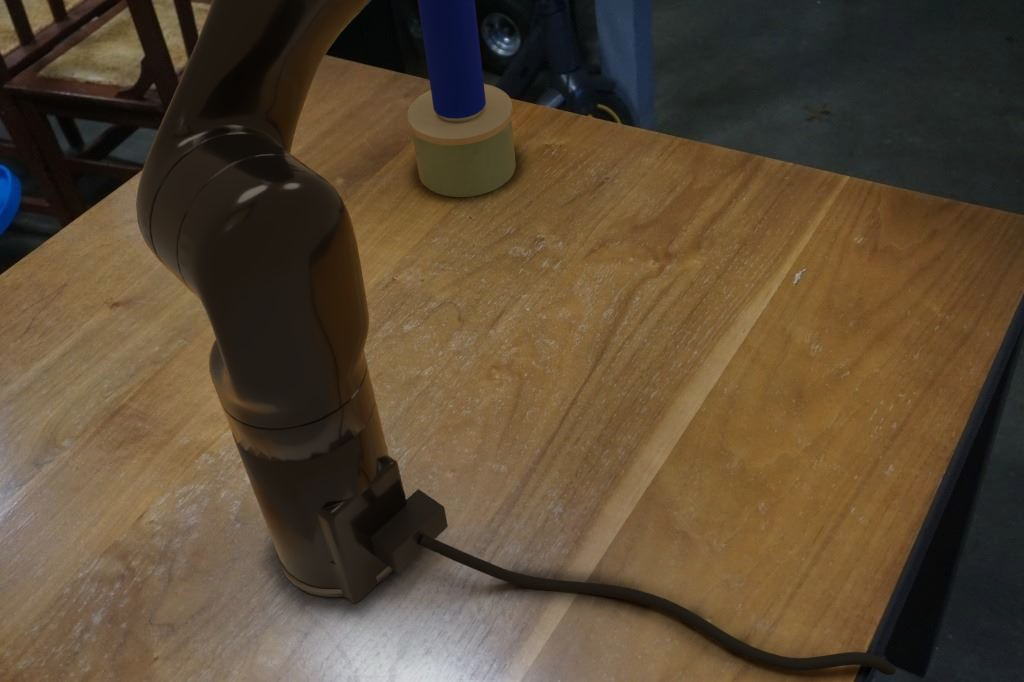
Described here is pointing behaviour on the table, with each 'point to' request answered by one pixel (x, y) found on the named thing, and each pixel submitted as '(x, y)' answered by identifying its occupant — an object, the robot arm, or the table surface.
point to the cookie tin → (464, 146)
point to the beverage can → (453, 58)
